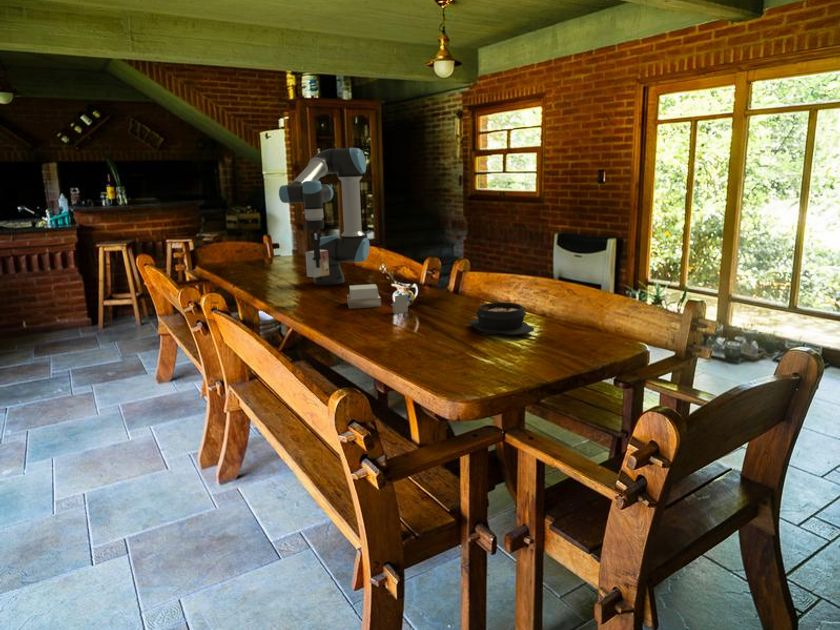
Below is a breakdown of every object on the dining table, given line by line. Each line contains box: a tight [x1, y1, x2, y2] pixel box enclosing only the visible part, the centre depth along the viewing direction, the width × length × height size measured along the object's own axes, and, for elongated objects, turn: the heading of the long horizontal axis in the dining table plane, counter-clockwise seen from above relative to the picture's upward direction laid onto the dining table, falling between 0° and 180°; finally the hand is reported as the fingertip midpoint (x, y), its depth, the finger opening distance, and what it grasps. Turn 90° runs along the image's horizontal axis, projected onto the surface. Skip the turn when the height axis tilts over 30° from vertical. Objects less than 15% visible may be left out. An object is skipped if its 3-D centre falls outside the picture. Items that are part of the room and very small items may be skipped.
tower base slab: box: [346, 293, 382, 310], centre depth 249 cm, size 11×13×4 cm
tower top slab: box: [348, 283, 379, 299], centre depth 248 cm, size 9×11×4 cm
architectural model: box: [390, 293, 411, 315], centre depth 235 cm, size 3×7×7 cm, turn 124°
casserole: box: [468, 302, 535, 336], centre depth 204 cm, size 25×19×8 cm
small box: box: [304, 250, 329, 278], centre depth 251 cm, size 8×6×10 cm
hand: (318, 273), depth 252 cm, fingers closed on small box, 9 cm apart
